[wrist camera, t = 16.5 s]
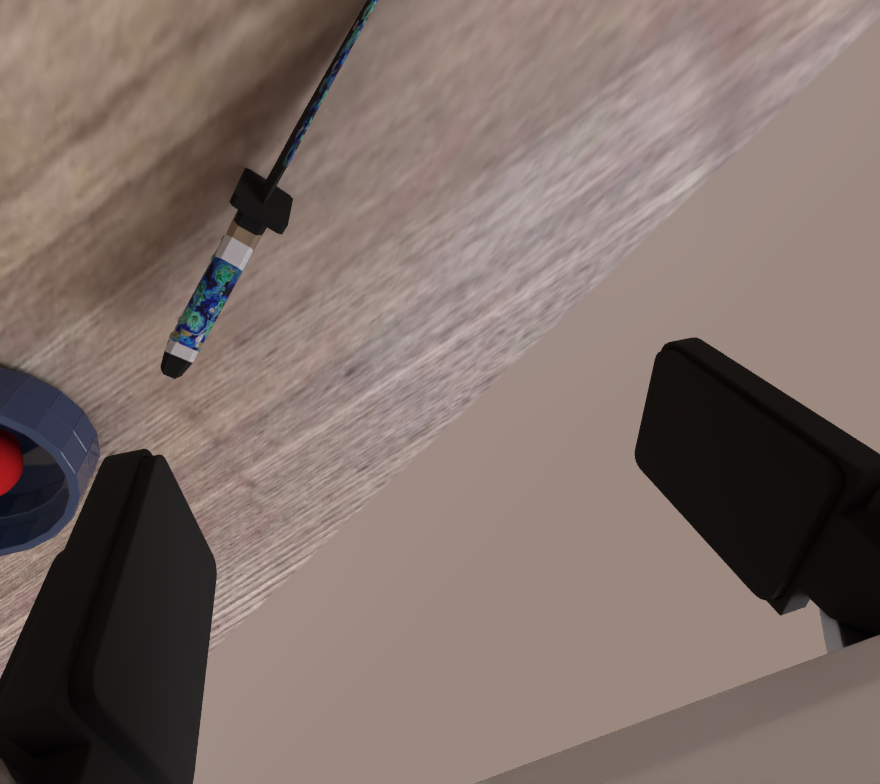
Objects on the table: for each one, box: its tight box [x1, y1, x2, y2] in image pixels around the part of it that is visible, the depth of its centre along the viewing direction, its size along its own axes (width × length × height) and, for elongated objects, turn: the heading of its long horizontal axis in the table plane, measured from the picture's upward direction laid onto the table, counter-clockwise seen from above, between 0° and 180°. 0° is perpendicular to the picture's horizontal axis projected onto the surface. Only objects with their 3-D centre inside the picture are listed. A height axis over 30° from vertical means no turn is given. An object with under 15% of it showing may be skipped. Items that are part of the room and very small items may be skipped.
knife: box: [161, 0, 378, 379], centre depth 28 cm, size 31×3×4 cm, turn 139°
